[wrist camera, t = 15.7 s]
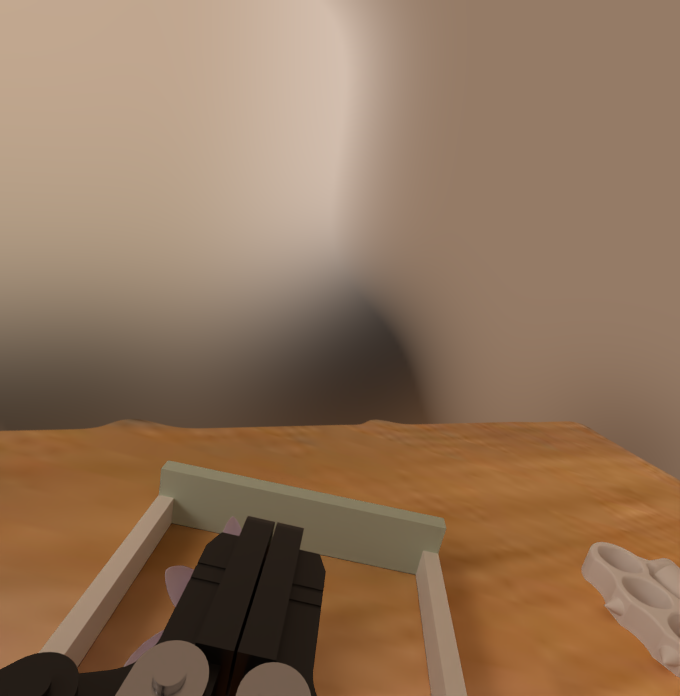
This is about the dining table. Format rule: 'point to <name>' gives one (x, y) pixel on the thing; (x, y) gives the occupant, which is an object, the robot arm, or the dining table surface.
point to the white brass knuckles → (640, 597)
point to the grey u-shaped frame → (279, 506)
